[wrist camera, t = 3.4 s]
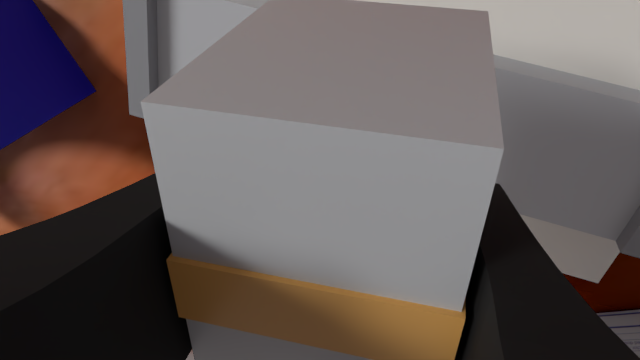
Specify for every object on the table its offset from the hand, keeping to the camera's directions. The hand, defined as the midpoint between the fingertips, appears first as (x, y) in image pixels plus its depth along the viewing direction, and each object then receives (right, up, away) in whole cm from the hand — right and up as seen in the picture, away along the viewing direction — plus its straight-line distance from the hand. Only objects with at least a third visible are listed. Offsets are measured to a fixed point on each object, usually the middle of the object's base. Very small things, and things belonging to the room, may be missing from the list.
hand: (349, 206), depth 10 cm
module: (+1, +1, +1) cm, 2 cm away
